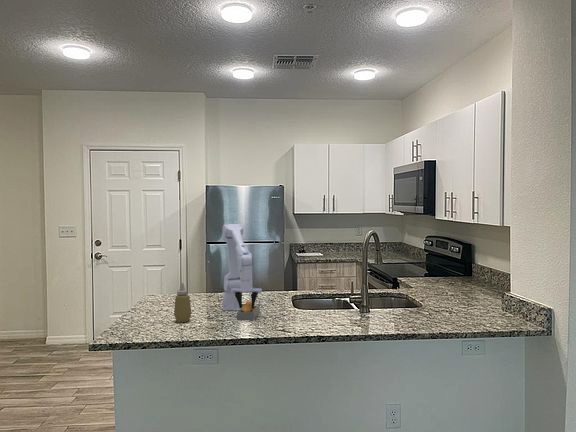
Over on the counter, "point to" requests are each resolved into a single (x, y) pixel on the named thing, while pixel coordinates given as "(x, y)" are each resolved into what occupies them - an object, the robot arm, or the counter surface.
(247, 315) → the housing
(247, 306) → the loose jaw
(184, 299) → the squeeze bottle
